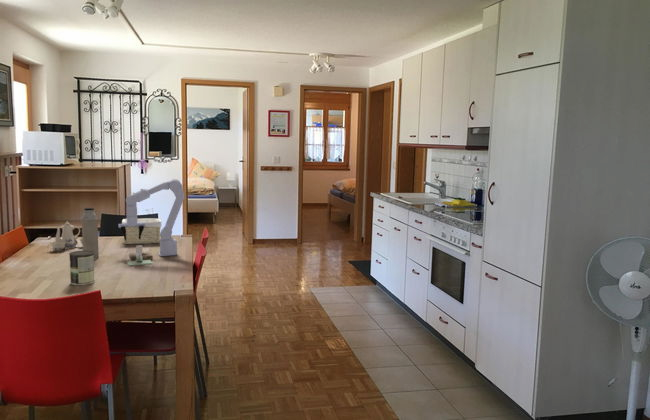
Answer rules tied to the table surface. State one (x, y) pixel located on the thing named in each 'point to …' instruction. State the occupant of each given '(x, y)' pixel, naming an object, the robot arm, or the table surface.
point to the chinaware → (65, 238)
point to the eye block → (144, 255)
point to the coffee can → (82, 267)
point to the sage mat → (133, 263)
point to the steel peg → (139, 254)
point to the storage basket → (143, 232)
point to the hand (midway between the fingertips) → (132, 239)
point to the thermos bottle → (90, 231)
